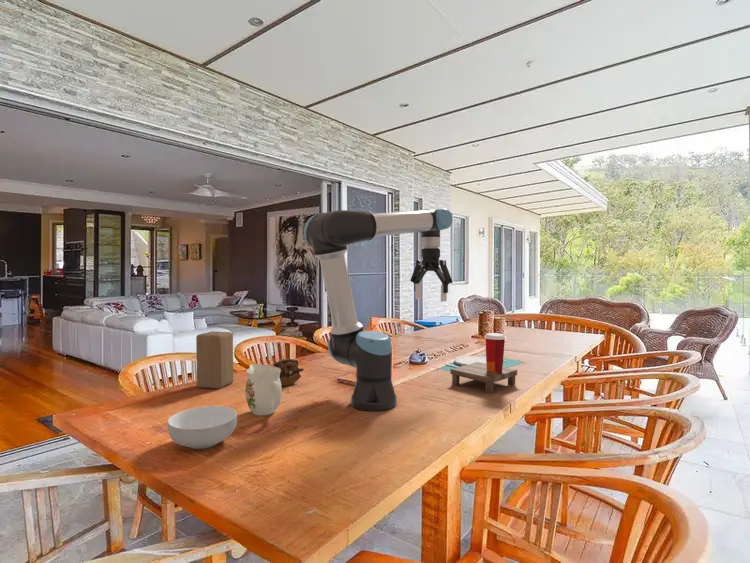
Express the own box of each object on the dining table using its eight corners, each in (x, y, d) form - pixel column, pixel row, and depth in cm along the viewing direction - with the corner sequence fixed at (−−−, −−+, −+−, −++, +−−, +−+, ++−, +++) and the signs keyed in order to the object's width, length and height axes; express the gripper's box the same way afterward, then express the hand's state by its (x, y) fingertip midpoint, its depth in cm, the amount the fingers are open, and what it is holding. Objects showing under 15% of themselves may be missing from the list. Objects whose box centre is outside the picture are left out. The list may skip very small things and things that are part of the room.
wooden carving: (272, 391, 159) (272, 364, 159) (264, 389, 162) (264, 362, 162) (305, 381, 172) (305, 356, 172) (297, 380, 175) (297, 355, 175)
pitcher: (262, 425, 126) (262, 377, 125) (236, 409, 139) (236, 366, 139) (295, 416, 133) (295, 371, 132) (268, 402, 147) (267, 361, 146)
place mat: (470, 379, 179) (471, 374, 179) (418, 366, 203) (418, 361, 203) (531, 364, 208) (531, 359, 208) (479, 354, 231) (479, 349, 231)
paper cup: (504, 369, 168) (505, 333, 168) (505, 374, 161) (506, 336, 160) (483, 368, 170) (484, 332, 169) (483, 373, 162) (484, 335, 162)
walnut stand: (490, 394, 156) (490, 377, 156) (450, 384, 169) (450, 368, 169) (517, 385, 168) (517, 369, 168) (477, 376, 181) (477, 362, 181)
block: (195, 388, 163) (195, 334, 163) (211, 381, 173) (211, 330, 172) (219, 389, 161) (218, 335, 160) (234, 382, 171) (233, 331, 170)
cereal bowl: (158, 442, 114) (157, 415, 113) (219, 426, 125) (219, 401, 125) (183, 463, 101) (183, 433, 101) (249, 443, 113) (248, 416, 113)
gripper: (461, 247, 171) (461, 301, 172) (414, 249, 189) (414, 298, 190) (449, 246, 166) (449, 302, 166) (402, 248, 184) (402, 298, 185)
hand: (430, 300), depth 178 cm, fingers open, 13 cm apart
